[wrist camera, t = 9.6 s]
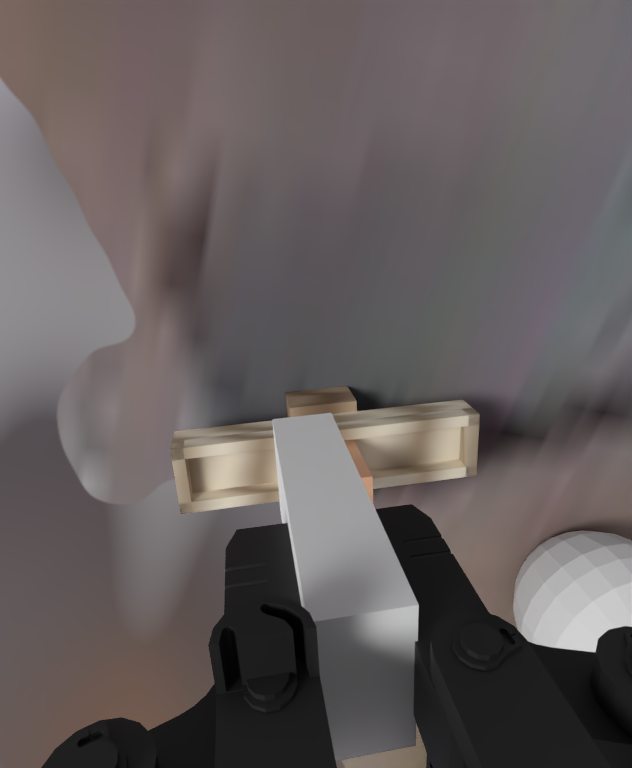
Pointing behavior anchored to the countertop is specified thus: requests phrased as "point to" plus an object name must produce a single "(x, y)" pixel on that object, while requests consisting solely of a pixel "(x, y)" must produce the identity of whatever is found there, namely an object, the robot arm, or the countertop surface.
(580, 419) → the countertop surface
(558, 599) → the vase
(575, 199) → the countertop surface
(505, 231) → the countertop surface
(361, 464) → the block
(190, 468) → the beam
